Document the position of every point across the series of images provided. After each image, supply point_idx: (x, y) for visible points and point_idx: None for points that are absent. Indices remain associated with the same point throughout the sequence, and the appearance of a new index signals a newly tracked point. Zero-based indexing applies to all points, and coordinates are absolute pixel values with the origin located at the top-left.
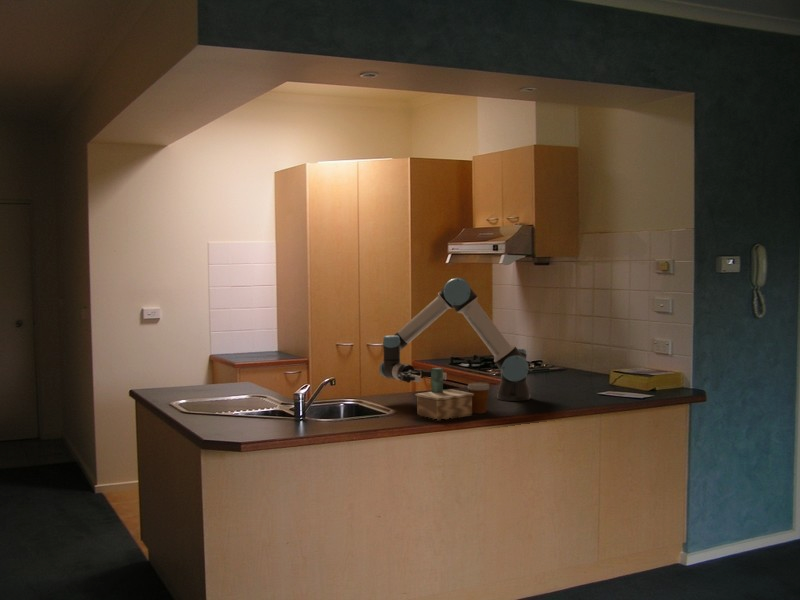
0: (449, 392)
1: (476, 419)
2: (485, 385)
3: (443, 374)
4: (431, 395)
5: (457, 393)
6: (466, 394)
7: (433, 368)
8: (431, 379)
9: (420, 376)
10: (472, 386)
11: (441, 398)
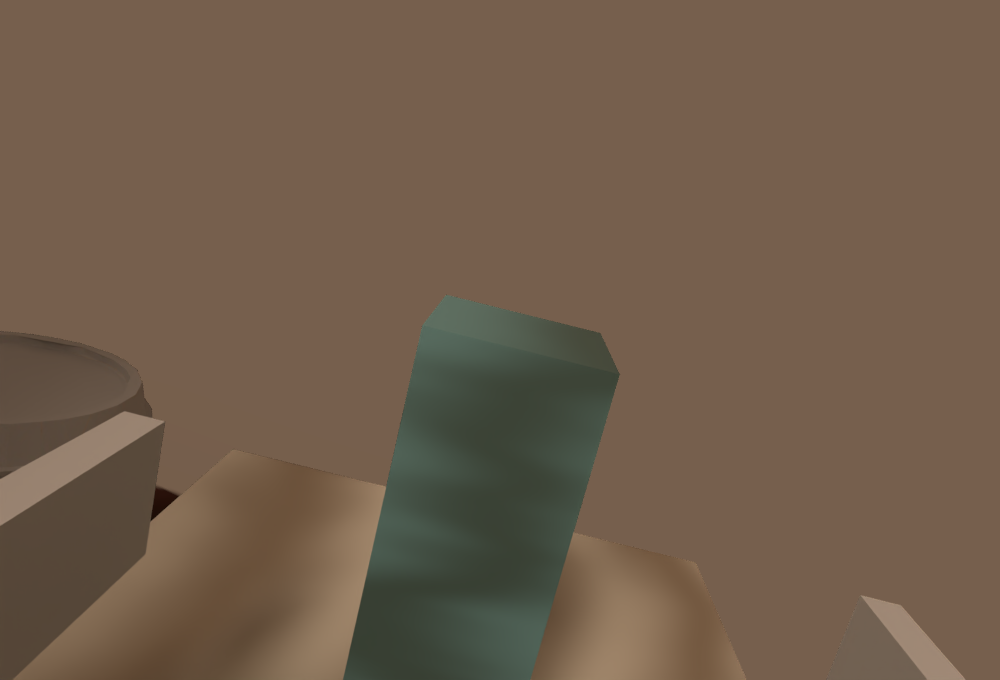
0: (320, 608)
1: None
2: (72, 345)
3: (125, 477)
4: (667, 668)
5: (325, 532)
6: (325, 472)
7: (580, 353)
8: (550, 601)
9: (869, 602)
10: (137, 407)
11: (643, 555)
